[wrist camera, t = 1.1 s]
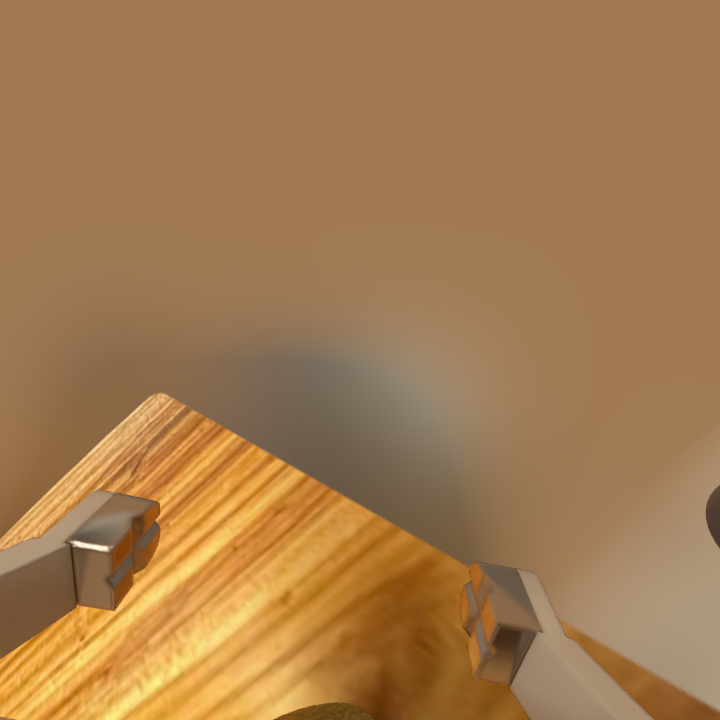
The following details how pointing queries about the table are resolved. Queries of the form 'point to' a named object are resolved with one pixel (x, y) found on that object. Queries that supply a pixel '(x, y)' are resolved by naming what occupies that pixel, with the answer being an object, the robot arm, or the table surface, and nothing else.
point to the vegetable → (328, 713)
